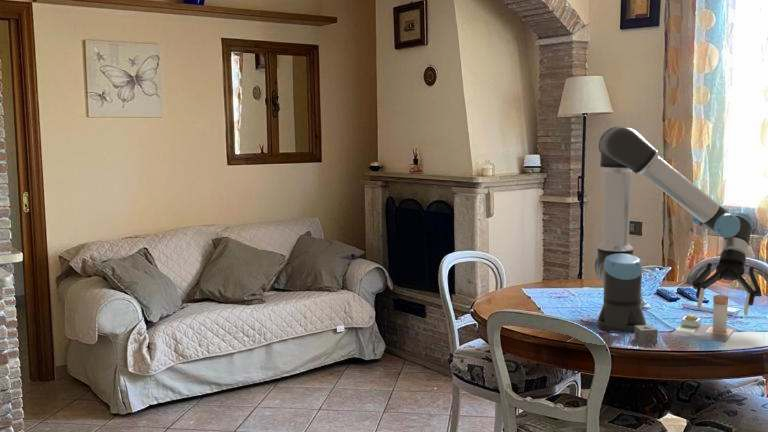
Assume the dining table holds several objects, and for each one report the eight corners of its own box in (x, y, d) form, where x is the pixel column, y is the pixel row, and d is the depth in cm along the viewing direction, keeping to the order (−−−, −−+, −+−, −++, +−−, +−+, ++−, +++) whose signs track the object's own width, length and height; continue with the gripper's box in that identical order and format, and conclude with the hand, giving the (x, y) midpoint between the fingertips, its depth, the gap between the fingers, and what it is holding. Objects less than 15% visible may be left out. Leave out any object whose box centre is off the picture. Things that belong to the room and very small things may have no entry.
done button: (685, 322, 245) (685, 316, 244) (687, 320, 247) (687, 314, 247) (694, 323, 243) (694, 317, 243) (696, 321, 245) (696, 315, 245)
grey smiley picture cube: (641, 346, 228) (641, 330, 227) (634, 341, 233) (634, 325, 232) (657, 345, 228) (657, 329, 227) (649, 340, 233) (650, 324, 232)
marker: (710, 331, 238) (712, 297, 236) (713, 328, 241) (715, 294, 240) (725, 333, 236) (726, 298, 234) (727, 330, 239) (729, 296, 237)
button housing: (681, 326, 245) (681, 319, 244) (684, 322, 248) (685, 316, 248) (696, 328, 242) (697, 321, 242) (700, 324, 246) (700, 318, 245)
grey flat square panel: (670, 336, 236) (670, 334, 236) (683, 323, 250) (683, 321, 250) (725, 345, 227) (725, 342, 227) (736, 330, 241) (736, 328, 241)
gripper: (777, 265, 242) (766, 322, 232) (694, 257, 257) (682, 310, 247) (775, 251, 237) (764, 309, 227) (691, 244, 252) (678, 298, 242)
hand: (721, 310), depth 237 cm, fingers open, 13 cm apart
